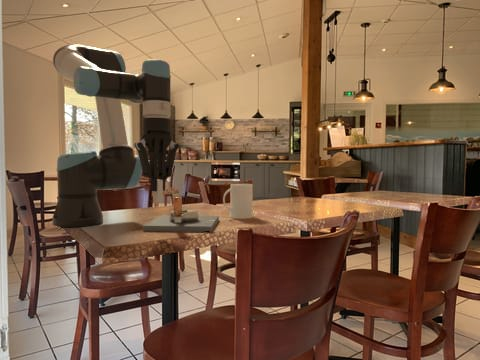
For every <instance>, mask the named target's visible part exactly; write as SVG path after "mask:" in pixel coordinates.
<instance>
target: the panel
mask: <svg viewBox="0 0 480 360" xmlns="http://www.w3.org/2000/svg"><path fill="white" fill-rule="evenodd" d="M219 217H220V216H219V215H198V220H196V221H190V222H181V223H180V222H174V221H170V214H169V215H168V214H166V215H165V214H160V215H159V216H157V217H156V218H154V219H152V220H150V221H149V222H147V223H145V224H143V225H142V226H143V227H142V231H143V232H179V233H180V232H181V233H182V232H184V233H185V232H186V233H188V232H189V233H192V232H193V233H203V232H202V231H213V230H214V228H215V227H216V225H217V224H218V222H219V219H220V218H219ZM214 226H215V227H214ZM212 229H213V230H212Z"/></svg>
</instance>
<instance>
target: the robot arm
mask: <svg viewBox="0 0 480 360" xmlns="http://www.w3.org/2000/svg"><path fill="white" fill-rule="evenodd" d="M52 63H53V67H54V69H55V70H56V71H57V72H58V73H59V74H60V75H62V76H63V77H66V78H69V79H71V80H72V81H73V88H74V90H75V91H74V92H76V94H78V95H81V96H87V97H94V98H95V104H96V111H97V119H98V126H99V131H100V138H101V144H102V148H101V149H100V150H99V152H98V153H97V152H96V151H95V150H89V151H81V152H80V151H79V152H71V153H64V154H60V155H59V156H58V157H57V162H56V164H57V165H56V171H57V173H56V176H57V178H56V179H57V203H56V205H55V208H54V209H55V210H54V213H53V215H52V226H54V227H59V228H77V227H78V228H79V227H80V228H81V227H89V226H90V227H91V226H95V225H99V224H102V223H103V222H104V215H103V211H102V210H101V206H100V203H99V201H98V191H107V190H126V189H133V188H135V187H137V186H138V185H139V183H140V181H141V178H142V175H143V177H144V178H147V179H148V180H150V191H151V192H152V193H153V194H152V197H153V200H152V201H153V203H154V204H163V203H164V191H166V180H168V178H170V177H172V176H173V175H172V174H173V169H174V165H175V164H174V163H175V161H176V160H175V159H176V153H177V151H178V149H179V148H180V144H179V143H175V142H174V141H173V140H172V137H171V131H172V121H171V118H170V117H171V115H172V114H171V112H172V111H171V77H172V76H171V70H170V69H171V67H170V66H171V65H170V64H169V63H168V61H165V60H162V59H152V58H151V59H146V60H144V61H143V62H142V65H141V66H142V67H141V73H140V74H135V73H127V72H126V71H127V70H126V68H127V67H126V62H125V60H124V57H123V56H122V54H120V53H119V52H117V51H114V50H111V49H103V48H97V47H92V46H86V45H83V44H77V43H75V44H66V45H63V46H60V47H59V48H57V50H56V51H55V52H54V54H53V57H52ZM121 100H123V101H129V102H131V103H134V104H142V116H143V117H144V118H143V119H142V130H143V135H142V138H141V140H140V141H138V142H134V145H133V146H134V148H135V149H136V150H137V153H138V155H137V154H135V153H134V152H135V151H134V149H133V147H131V146H130V145H129V143H128V136H127V131H126V125H125V120H124V114H123V113H124V112H123V106H122V101H121ZM167 149H168V150H167ZM147 150H148V151H147ZM147 152H148V153H147ZM97 154H98V155H97ZM148 156H149V157H148Z"/></svg>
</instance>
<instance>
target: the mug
mask: <svg viewBox="0 0 480 360" xmlns="http://www.w3.org/2000/svg"><path fill="white" fill-rule="evenodd" d="M253 187H254V185H253V184H252V183H231V184H230V187H229V188H228V189H227V190H225V192H224V194H223V197H222V203H223V205H224V207H225V209H227V210H229V213H230V214H229V218H231V219H235V220H248V219H252V218H254V216H253V215H254V214H253V201H254V200H253V195H254V194H253V191H254V190H253ZM228 193H230V194H229V195H230V201H229V202H230V204H229V205H230V207H229V206H228V205H227V204H226V196H227V195H228Z"/></svg>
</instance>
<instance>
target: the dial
mask: <svg viewBox="0 0 480 360" xmlns="http://www.w3.org/2000/svg"><path fill="white" fill-rule="evenodd" d="M182 204H183V197H182V196H173V210H172V211H169V215H170V221H174V222H180V223H181V222H190V221H196V220H198V216H199V211H198V210H193V209H183V205H182Z"/></svg>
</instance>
